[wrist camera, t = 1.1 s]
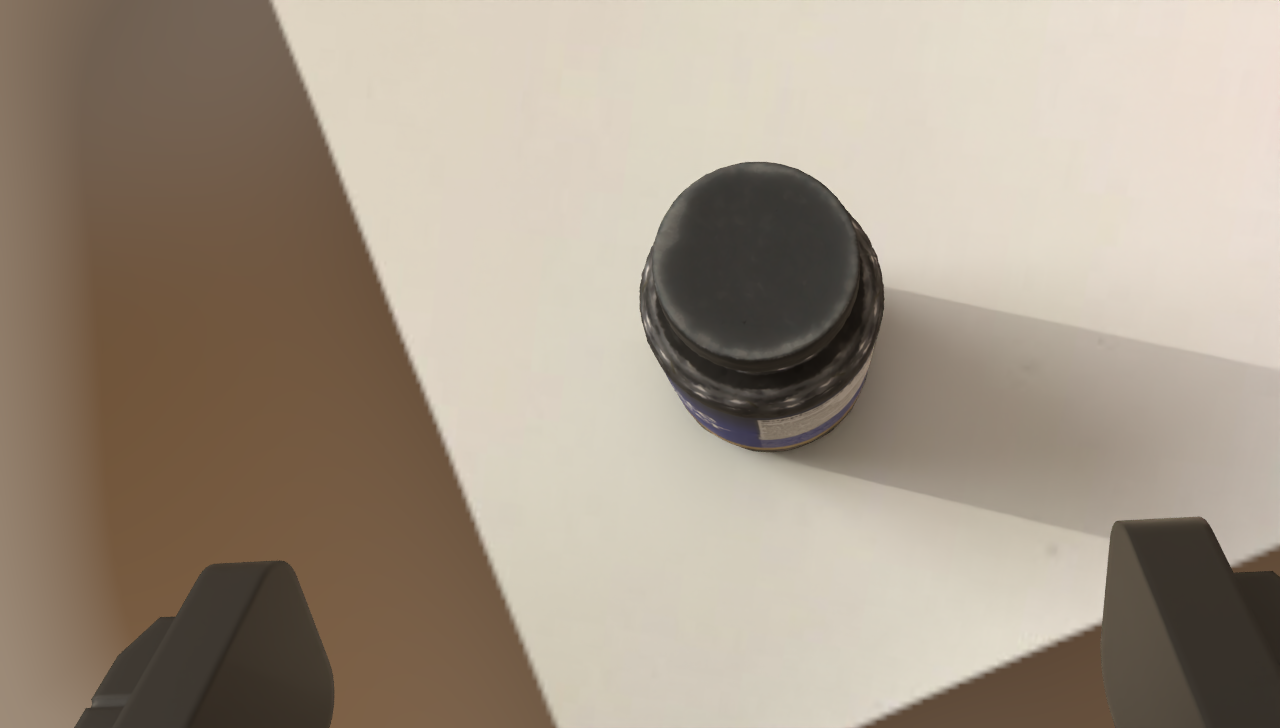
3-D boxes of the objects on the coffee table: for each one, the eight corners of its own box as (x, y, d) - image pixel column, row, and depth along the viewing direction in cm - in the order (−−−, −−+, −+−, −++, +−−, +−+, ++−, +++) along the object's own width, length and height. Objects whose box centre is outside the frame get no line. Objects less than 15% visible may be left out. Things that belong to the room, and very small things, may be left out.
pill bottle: (640, 318, 38) (573, 203, 27) (811, 230, 38) (811, 81, 27) (727, 490, 37) (692, 440, 26) (905, 400, 36) (944, 313, 26)
